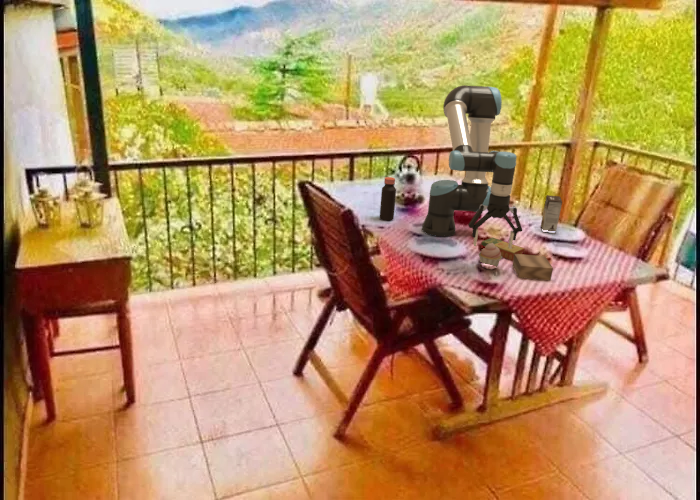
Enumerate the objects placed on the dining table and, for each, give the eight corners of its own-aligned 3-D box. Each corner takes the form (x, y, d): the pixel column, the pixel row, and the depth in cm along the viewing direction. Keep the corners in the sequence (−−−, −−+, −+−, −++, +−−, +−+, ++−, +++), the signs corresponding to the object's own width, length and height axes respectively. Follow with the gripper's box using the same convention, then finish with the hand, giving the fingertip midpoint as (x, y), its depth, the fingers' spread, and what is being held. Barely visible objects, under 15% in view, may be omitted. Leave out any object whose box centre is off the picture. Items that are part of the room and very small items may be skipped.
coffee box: (540, 226, 273) (546, 194, 267) (553, 228, 272) (560, 196, 266) (542, 232, 265) (548, 200, 259) (556, 234, 264) (563, 201, 258)
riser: (518, 277, 215) (520, 265, 213) (512, 265, 226) (514, 253, 224) (550, 280, 215) (553, 268, 213) (542, 267, 226) (545, 256, 224)
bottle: (388, 222, 267) (392, 181, 259) (376, 218, 270) (379, 178, 263) (396, 219, 272) (399, 178, 264) (384, 215, 275) (387, 175, 268)
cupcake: (505, 267, 224) (509, 243, 221) (493, 273, 218) (497, 249, 214) (484, 259, 230) (488, 236, 226) (472, 265, 224) (475, 242, 220)
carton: (512, 262, 231) (514, 252, 229) (479, 249, 241) (481, 240, 240) (523, 257, 236) (525, 247, 234) (491, 245, 247) (492, 236, 245)
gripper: (468, 194, 210) (461, 247, 217) (536, 198, 209) (526, 252, 216) (465, 188, 217) (459, 240, 224) (531, 193, 216) (522, 245, 223)
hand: (492, 246), depth 220 cm, fingers open, 13 cm apart
